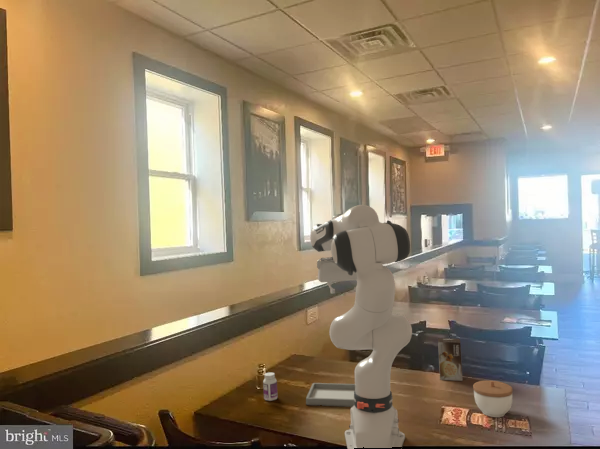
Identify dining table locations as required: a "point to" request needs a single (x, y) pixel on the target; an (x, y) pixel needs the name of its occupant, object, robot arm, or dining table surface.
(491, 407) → the lidded bowl
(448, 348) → the food box
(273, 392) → the pill bottle
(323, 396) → the grey tray
